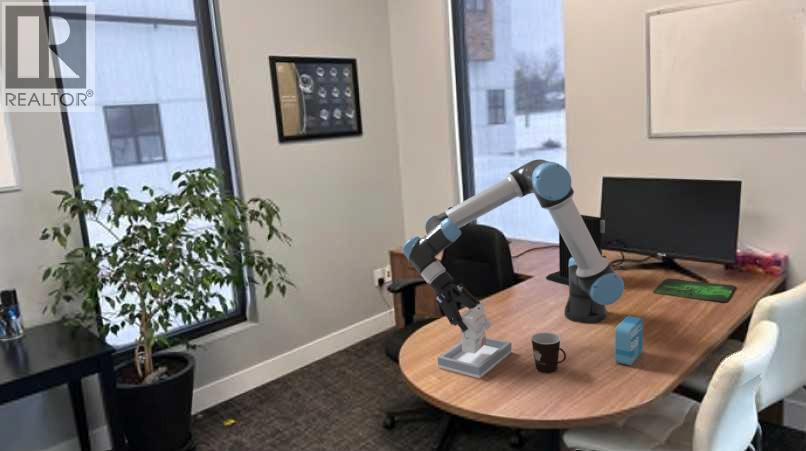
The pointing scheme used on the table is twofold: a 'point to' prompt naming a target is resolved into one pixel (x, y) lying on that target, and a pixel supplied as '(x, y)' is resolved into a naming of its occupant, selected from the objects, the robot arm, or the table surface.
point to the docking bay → (475, 358)
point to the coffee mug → (546, 352)
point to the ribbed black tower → (562, 276)
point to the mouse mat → (695, 290)
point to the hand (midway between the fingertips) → (482, 332)
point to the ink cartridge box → (478, 325)
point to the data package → (628, 340)
